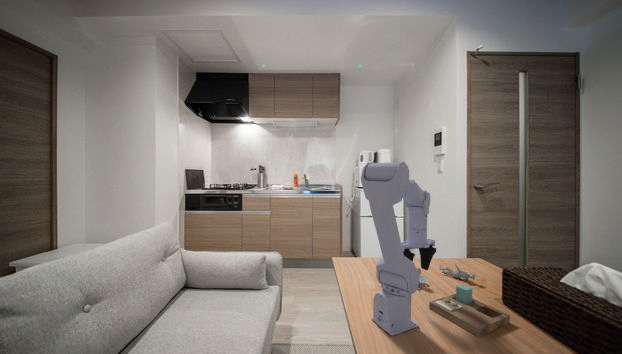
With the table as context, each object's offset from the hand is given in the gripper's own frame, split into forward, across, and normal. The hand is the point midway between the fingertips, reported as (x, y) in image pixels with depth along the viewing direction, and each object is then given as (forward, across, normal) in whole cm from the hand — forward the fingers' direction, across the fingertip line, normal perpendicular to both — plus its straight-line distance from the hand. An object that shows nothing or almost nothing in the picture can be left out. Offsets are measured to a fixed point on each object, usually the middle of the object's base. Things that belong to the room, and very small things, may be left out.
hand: (416, 271), depth 77 cm
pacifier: (+10, +10, +9) cm, 17 cm away
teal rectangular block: (+9, +10, -9) cm, 17 cm away
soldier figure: (+10, +29, +6) cm, 31 cm away
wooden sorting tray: (+9, +7, -12) cm, 17 cm away
